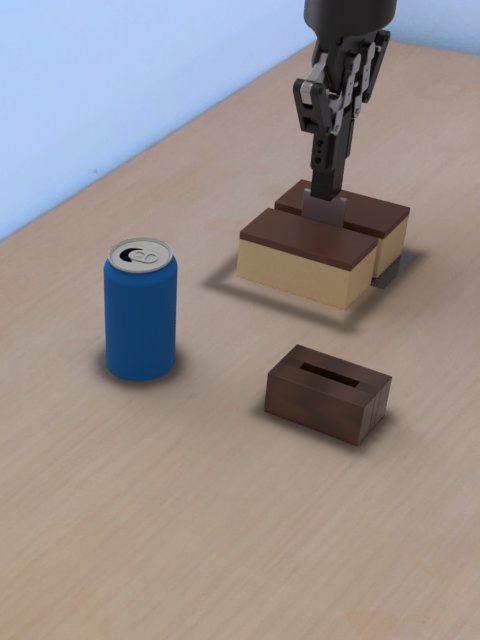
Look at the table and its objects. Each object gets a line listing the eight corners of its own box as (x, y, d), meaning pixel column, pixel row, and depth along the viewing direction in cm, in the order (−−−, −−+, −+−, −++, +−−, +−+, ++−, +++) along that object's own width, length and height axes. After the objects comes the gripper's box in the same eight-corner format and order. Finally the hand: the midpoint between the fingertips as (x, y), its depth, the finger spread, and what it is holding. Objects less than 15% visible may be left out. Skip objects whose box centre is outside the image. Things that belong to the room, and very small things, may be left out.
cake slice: (370, 284, 108) (379, 237, 105) (344, 311, 106) (351, 264, 102) (263, 252, 114) (268, 206, 110) (236, 277, 112) (239, 231, 108)
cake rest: (401, 253, 112) (411, 207, 108) (376, 278, 109) (385, 232, 105) (296, 223, 117) (301, 178, 113) (269, 247, 115) (274, 201, 111)
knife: (342, 260, 110) (364, 110, 99) (331, 271, 109) (352, 120, 98) (303, 249, 112) (320, 100, 101) (292, 259, 111) (307, 110, 100)
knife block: (383, 423, 96) (393, 376, 92) (355, 455, 94) (364, 407, 90) (291, 390, 100) (296, 343, 96) (262, 419, 98) (267, 372, 94)
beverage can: (125, 342, 107) (123, 228, 98) (185, 358, 105) (190, 242, 96) (94, 379, 104) (90, 264, 95) (156, 396, 102) (158, 279, 92)
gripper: (356, -3, 85) (329, 207, 98) (437, -64, 91) (401, 141, 105) (271, -18, 89) (255, 187, 102) (355, -76, 95) (330, 124, 108)
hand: (329, 163), depth 103 cm, fingers closed on knife, 2 cm apart
